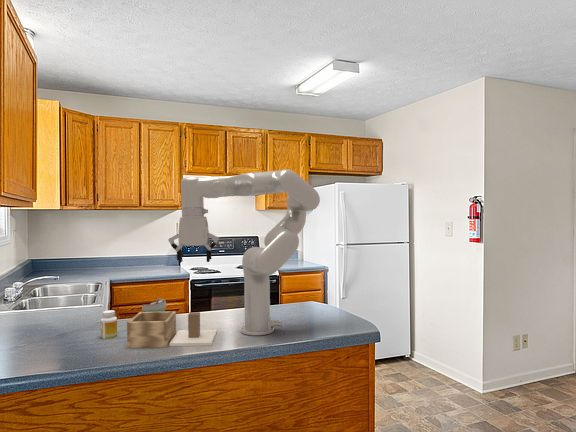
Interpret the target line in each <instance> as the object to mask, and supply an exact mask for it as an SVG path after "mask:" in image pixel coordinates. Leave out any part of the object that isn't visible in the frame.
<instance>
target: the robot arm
mask: <svg viewBox="0 0 576 432" xmlns="http://www.w3.org/2000/svg"><path fill="white" fill-rule="evenodd" d="M180 193H181V217H180V218H179V224H178V233H176V234H175V235H172V236H171V237H169V238H168V242H169V244H170V245H171V248H173V250H175V251H176V260H177V261H178V263H179V264H181V263H182V262H183V250H182V248H183V247H190V246H193V247H194V246H204V247H205V248H206V252H205V253H206V262H207V263H209V262H211V260H212V250H213V248H214V247H215V246H216V245H217V243H218V242H219V240H220V238H219V237H218V236H217V235H214V234H213V233H210V231H209V223H208V218H207V216H205V214H208V213H209V209H206V208H205V207H204V205H205V203H204V202H205V201H204V198H205V199H219V198H225V197H227V198H228V197H251V196H261V195H271V194H281V193H286V194H287V197H286V206H287V208H286V209H287V210H286V213H285V216H283V218H282V219H281V220H280V221H279V222H277V224H276V225H275V226H274V227H273V228H272V229H270V230H269V231H268V233H267V234H266V235H265V237H264V240H263V242H264V243H263V244H264V246H265V247H259V246H253V247H249V248H248V249H246V251H245V252H244V253H243V255H242V261H241V263H242V265H241V266H242V270H243V271H242V272H243V278H244V280H243V281H244V286H243V288H244V289H243V290H244V293H243V294H244V325H243V326H241V327H240V333H242V334H243V335H246V336H266V335H270V334H271V333H274V331H275V327H283V321H281V320H276V319H275V320H273V319H272V316H271V298H270V297H271V295H270V294H271V288H270V287H271V282H270V276H271V275H274V274H276V272H278V271H279V270H280V269H281V268H282V267H283V266H284V264H286V263H287V262H288V261H289V259H291V258H292V256H293V255H294V254H295V253H296V252H297V249H298V247H299V246H300V245H299V244H300V239H299V236H298V235H299V234H300V233H301V232H302V230H303V229H304V227H305V225H306V222H307V221H306V219H307V211H308V212H309V211H311V212H312V211H314V210H316V209H317V208H318V207H319V204H320V200H321V198H320V195H319V192H318V191H317V190H316V189H315V188H314V187H313V186H312V185H310V183H308V182H307V181H306V180H305V179H304V178H302V176H300V175H299V174H297V173H296V171H294V170H291V169H281V170H270V171H269V170H268V171H255V172H245V173H239V174H237V175H232V176H221V177H219V176H211V177H202V178H201V177H196V176H193V177H192V176H191V177H188V176H187V177H183V178H182V179H181V180H180ZM210 238H211V239H212V240H213V242H212V243H211V244H210ZM176 239H178V245H177V244H176V243H175V240H176Z"/></svg>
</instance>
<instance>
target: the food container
mask: <svg viewBox="0 0 576 432" xmlns="http://www.w3.org/2000/svg"><path fill="white" fill-rule="evenodd" d="M167 306H168V305H167V302H166V300H165V299H164V298H156V301H153V302H150V303H148V304H142V308H141V310H142V312H166V307H167Z"/></svg>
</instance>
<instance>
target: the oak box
mask: <svg viewBox="0 0 576 432" xmlns="http://www.w3.org/2000/svg"><path fill="white" fill-rule="evenodd" d="M176 314H177V311H165V312H143V311H139V312H138V313H137V314H135V315H134V316H132V318H131V319H129V320H128V321H127V322H126V332H127V333H126V338H127V339H126V340H127V341H126V343H127V345H126V346H127V347H126V348H127V349H137V348H138V349H139V348H141V349H144V348H145V349H146V348H149V349H150V348H168V347H169V343H170V342H171V340H172V339H173V338H174V336H175V335H176V333H177V315H176Z"/></svg>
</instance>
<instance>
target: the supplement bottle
mask: <svg viewBox="0 0 576 432" xmlns="http://www.w3.org/2000/svg"><path fill="white" fill-rule="evenodd" d="M102 316H103V317H102V318H101V319H100V335H101V336H100V338H101V339H103V340H110V339H115V338H117V337H118V317H117V316H116V311H115V310H113V309H111V310H110V309H109V310H103V311H102Z"/></svg>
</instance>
